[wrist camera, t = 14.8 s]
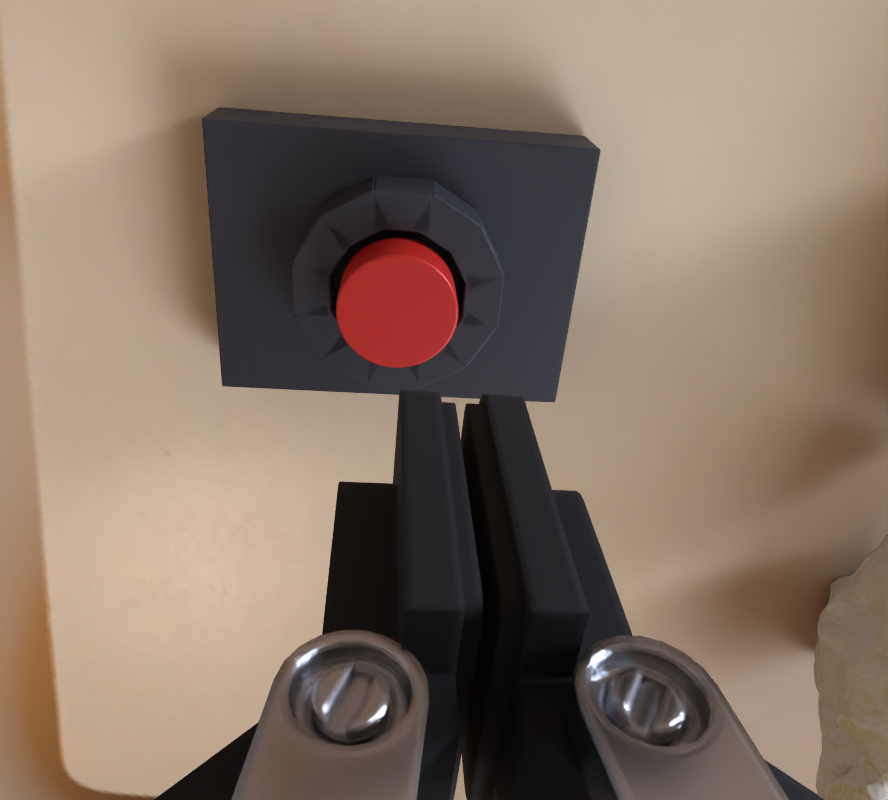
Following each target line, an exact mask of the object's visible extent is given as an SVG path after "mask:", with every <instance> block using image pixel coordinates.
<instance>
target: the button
mask: <svg viewBox="0 0 888 800" xmlns="http://www.w3.org/2000/svg"><path fill="white" fill-rule="evenodd" d="M336 318H337V323H338V326H339V329H340V332H341V334H342V336H343V338H344V339H345V341H346V342H347V343H348V345H349V346H350V347H351V348H352V349H353V350H354V351H355V352H356V353H357V354H359V355H360V356H362V357H363V358H365V359H366V360H368V361H370V362H372V363H375V364H378V365H381V366H386V367H394V368H402V367H410V366H414V365H418V364H420V363H423V362H425V361H427V360H429V359H431V358H432V357H434V356H435V355H437V354H438V353H439V352H440V351H441V350H442V349H443V348H444V347H445V346H446V345H447V344H448V342H449V341H450V339H451V338H452V336H453V333H454V331H455V328H456V325H457V321H458V301H457V295H456V289H455V283H454V279H453V275H452V273H451V270H450V268H449V267H448V265H447V263H446V262H445V260H444V259H443V258H442V257H441V256H440V255H439V254H438V253H437V252H436V251H435V250H434V249H432V248H431V247H430V246H428V245H426V244H424V243H422V242H420V241H417V240H414V239H410V238H404V237H390V238H384V239H380V240H377V241H374V242H372V243H370V244H368V245H366V246H364V247H363V248H362V249H360V250H359V251H358V252H357V253H356V254H355V255H354V256H353V257H352V258H351V259H350V261H349V262H348V264H347V266H346V267H345V269H344V272H343V275H342V278H341V282H340V287H339V292H338V297H337V302H336Z"/></svg>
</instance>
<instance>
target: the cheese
mask: <svg viewBox="0 0 888 800" xmlns="http://www.w3.org/2000/svg"><path fill="white" fill-rule="evenodd" d="M830 589H831V591H830V598H829V603H828V604H827V605H826V607H825V608H824V609H823V611H822V612H821V614H820V617H819V622H818V625H817V632H818V636H819V637H820V638H819V640H818V643H817V646H816V649H815V656H814V657H815V662H814V679H815V684H816V687H817V689H818V691H819V702H818V704H819V719H820V727H821V731H822V752H821V756H820V761H819V768H818V772H817V778H816V788H817V792H818V796H820V797H821V798H823V799H824V800H888V535H887V536H886V537H885V538H884V540H883V541H882V542H881V543H880V544H879V546H878V547H877V548H876V549H875V551H874V552H872V553H870V554H869V555H868V556H867V557H866V558H865V559H864V561H863V562H862V563H861V565H860V566H859V567H858V569H857V570H856V571H855V572H854V574H853V575H849V576H842V577H840V578H838V579H837V580H836V581H834V582H832V584H831V585H830Z"/></svg>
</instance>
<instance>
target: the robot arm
mask: <svg viewBox="0 0 888 800" xmlns="http://www.w3.org/2000/svg"><path fill="white" fill-rule="evenodd" d="M461 753H462V762H463V773H464V785H465V793H466V798H467V800H824V799H823V798H821V797H820V796H818V795H817V794H815V793H814V792H812V791H811V790H809V789H808V788H806V787H805V786H803V785H802V784H800V783H799V782H797V781H796V780H794V779H793V778H791V777H790V776H788V775H787V774H785V773H784V772H782V771H781V770H779V769H778V768H776V767H775V766H773V765H772V764H770V763H769V762H767V761H766V760H764V759H763V757H762V756H761V754H760V753H759V751H758V749H757V748H756V746H755V745H754V743H753V741H752V740H751V738H750V737H749V735H748V733H747V732H746V730H745V729H744V727H743V725H742V724H741V722H740V721H739V719H738V717H737V716H736V714H735V713H734V711H733V709H732V708H731V706H730V705H729V703H728V701H727V700H726V698H725V697H724V695H723V693H722V692H721V690H720V689H719V687H718V685H717V684H716V683H715V682H714V680H713V679H712V678H711V677H710V676H709V674H708V673H707V672H706V671H705V669H704V668H703V667H702V666H701V665H699V664H698V663H697V662H695V661H694V660H693V659H692V658H690V657H689V656H688V655H687V654H685V653H684V652H682V651H680V650H678V649H676V648H674V647H672V646H670V645H668V644H666V643H664V642H662V641H658V640H654V639H650V638H646V637H643V636H633V635H632V633H631V630H630V627H629V624H628V622H627V619H626V616H625V613H624V610H623V608H622V605H621V602H620V599H619V597H618V594H617V591H616V588H615V586H614V583H613V580H612V577H611V575H610V572H609V569H608V566H607V563H606V561H605V558H604V555H603V552H602V550H601V547H600V544H599V541H598V539H597V536H596V533H595V530H594V528H593V525H592V522H591V519H590V516H589V514H588V511H587V508H586V505H585V503H584V500H583V498H582V496H581V494H580V493H578V492H577V491H563V490H552V489H551V486H550V482H549V479H548V476H547V473H546V469H545V466H544V463H543V460H542V456H541V453H540V450H539V447H538V443H537V440H536V437H535V433H534V430H533V427H532V424H531V420H530V417H529V414H528V411H527V407H526V404H525V401H524V399H523V396H512V395H492V394H482V396H481V398H480V402H479V404H466V407H465V412H464V419H463V427H462V435H461V439H460V432H459V425H458V419H457V412H456V405H455V403H446V402H441V395H440V392H435V391H415V390H400V395H399V407H398V421H397V435H396V448H395V462H394V476H393V484H385V483H360V482H339V485H338V493H337V502H336V511H335V521H334V530H333V539H332V549H331V558H330V567H329V576H328V586H327V595H326V604H325V614H324V623H323V632H322V635H320V636H318V637H316V638H314V639H312V640H310V641H308V642H307V643H305V644H303V645H301V646H300V647H299V648H297V649H296V650H295V651H294V652H293V653H292V654H291V655H290V656H289V657H288V658H287V659H286V660H285V661H284V662H283V664H282V666H281V668H280V669H279V671H278V673H277V675H276V677H275V678H274V681H273V684H272V686H271V689H270V692H269V695H268V698H267V700H266V703H265V706H264V709H263V712H262V715H261V717H260V720H259V722H258V723H257V724H256V725H254V726H253V727H252V728H250V729H249V730H248V731H246V732H245V733H244V734H242V735H241V736H239V737H238V738H237V739H235V740H234V741H233V742H231V743H230V744H229V745H227V746H226V747H225V748H223V749H222V750H221V751H219V752H218V753H216V754H215V755H214V756H212V757H211V758H210V759H208V760H207V761H206V762H204V763H203V764H202V765H200V766H199V767H198V768H196V769H195V770H194V771H192V772H191V773H189V774H188V775H187V776H185V777H184V778H183V779H181V780H180V781H179V782H177V783H176V784H175V785H173V786H172V787H171V788H169V789H168V790H167V791H165V792H164V793H162V794H161V795H160V796H158V797H157V798H156V799H154V800H453V799H454V795H455V789H456V783H457V777H458V771H459V765H460V759H461Z"/></svg>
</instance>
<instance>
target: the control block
mask: <svg viewBox="0 0 888 800" xmlns="http://www.w3.org/2000/svg"><path fill="white" fill-rule="evenodd" d="M202 125H203V138H204V151H205V164H206V178H207V191H208V204H209V217H210V231H211V244H212V257H213V270H214V284H215V297H216V310H217V323H218V336H219V350H220V363H221V376H222V386H230V387H251V388H271V389H292V390H313V391H333V392H354V393H375V394H395V395H400V390H415V391H435V392H440V395H441V397H457V398H478V399H480V398H481V396H482V394H492V395H512V396H523V399H524V401H540V402H555V399H556V394H557V388H558V383H559V377H560V371H561V366H562V360H563V355H564V349H565V344H566V338H567V333H568V327H569V322H570V316H571V311H572V305H573V300H574V294H575V289H576V283H577V278H578V272H579V267H580V261H581V255H582V250H583V244H584V239H585V233H586V228H587V222H588V217H589V211H590V206H591V200H592V195H593V189H594V184H595V178H596V173H597V167H598V162H599V156H600V149H599V148H598V147H597V146H596V145H594V144H593V143H592V142H591V141H590V140H589V139H587V138H586V137H585V136H575V135H562V134H549V133H537V132H524V131H511V130H499V129H486V128H473V127H461V126H448V125H435V124H423V123H410V122H397V121H385V120H372V119H359V118H347V117H334V116H321V115H309V114H296V113H283V112H271V111H258V110H245V109H233V108H220V107H219V108H217V109H216V110H214V111H213V112H211V113H210V114H209V115H207V116H206V117H204V118H203V119H202ZM390 237H404V238H410V239H414V240H417V241H420V242H422V243H424V244H426V245H428V246H430V247H431V248H432V249H434V250H435V251H436V252H437V253H438V254H439V255H440V256H441V257H442V258H443V259H444V260H445V262H446V263H447V265H448V267H449V268H450V270H451V273H452V275H453V279H454V283H455V289H456V295H457V301H458V321H457V325H456V328H455V331H454V333H453V336H452V338H451V339H450V341H449V342H448V344H447V345H446V346H445V347H444V348H443V349H442V350H441V351H440V352H439V353H438V354H437V355H435V356H434V357H432V358H431V359H429V360H427V361H425V362H423V363H420V364H418V365H414V366H410V367H402V368H394V367H386V366H381V365H378V364H375V363H372V362H370V361H368V360H366V359H365V358H363V357H362V356H360V355H359V354H357V353H356V352H355V351H354V350H353V349H352V348H351V347H350V346H349V345H348V343H347V342H346V341H345V339H344V338H343V336H342V334H341V332H340V329H339V326H338V323H337V318H336V302H337V297H338V292H339V287H340V282H341V278H342V275H343V272H344V269H345V267H346V266H347V264H348V262H349V261H350V259H351V258H352V257H353V256H354V255H355V254H356V253H357V252H358V251H359V250H360V249H362V248H363V247H364V246H366V245H368V244H370V243H372V242H374V241H377V240H380V239H384V238H390Z"/></svg>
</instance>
